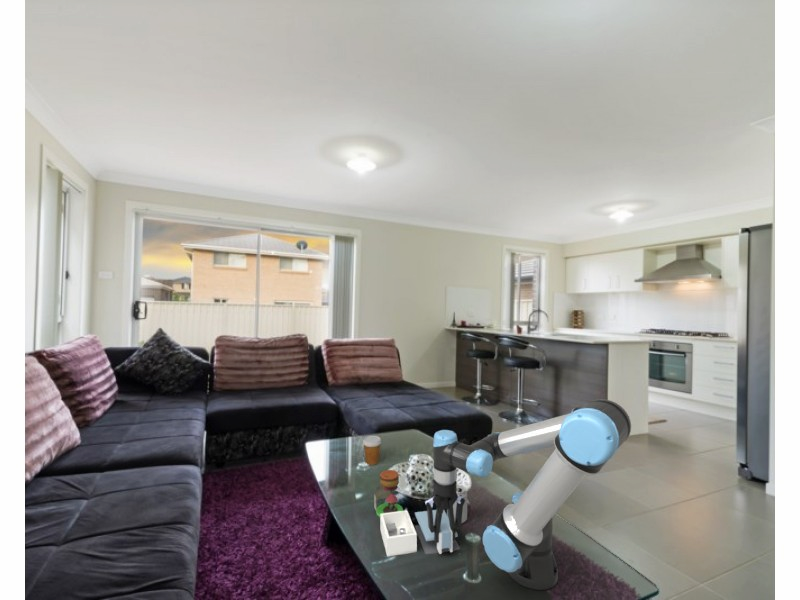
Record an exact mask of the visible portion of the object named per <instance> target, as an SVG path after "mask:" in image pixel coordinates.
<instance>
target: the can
mask: <svg viewBox="0 0 800 600" xmlns="http://www.w3.org/2000/svg"><path fill="white" fill-rule="evenodd" d="M456 493H457V495H458V496H460V495H462V496H463V498H464V499H465V502H464V505H463V510H462V522H461V525H462V524H463V523H465V522H466V521H467V520H468V491H466V488H465V486H463V485H461V484H457V491H456ZM456 506H457V500H456V502H455V503H454V505H453V513H454V520H455V517H456ZM446 514H447V516H448V510H447V509H446ZM448 518H449V516H448Z"/></svg>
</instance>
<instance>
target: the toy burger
mask: <svg viewBox="0 0 800 600" xmlns="http://www.w3.org/2000/svg"><path fill="white" fill-rule="evenodd" d="M399 475H400V474H399V471H397V470H395V469H394V470H393V469H385V470H382V472H380V474H379V484H380V485H379V486H377V487H376V488H375V489H374V491H373V505H374V510H375V513H376V516H378V517H379V518H380V514H382V513H390V512H398V511H404V508H403V506H401V505H400V504H399V503H397V502H398V500H399V499H398V497H397V496H396V495H395V494H394V493H393V491H396V490H397V489H398V488H399V487H398V485H399V484H400V478H399V477H400V476H399ZM381 499H385V501H386V502H384V503H381V504H380V505H378V506H377V502H378V501H379V500H381Z"/></svg>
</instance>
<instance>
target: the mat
mask: <svg viewBox="0 0 800 600" xmlns="http://www.w3.org/2000/svg"><path fill="white" fill-rule="evenodd" d="M413 526H414V529H415V531H416V534H417V537H418V539H419V541H420V545H421V546H422V549H423V551H424V554H425V556H429V555H433V554H439V552H438V550H437V543H436V542H435V540H431V541H426V539H425V537H424V535H423V532H422V530H421V528H420V525H419V524H418V525H417V524H416V525H413ZM459 550H461V547H460V546H459V544H458V542H457V540H456V539H455V540H453V552H454V551H459ZM446 552H450V551H449V549H448V548H443V549H442V553H446Z"/></svg>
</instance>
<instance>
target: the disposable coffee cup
mask: <svg viewBox="0 0 800 600" xmlns="http://www.w3.org/2000/svg"><path fill="white" fill-rule="evenodd" d="M381 444H382V439H381V437H380V436H377V435H368V436H365V437H363V440H362V445H363V449H364V450H363V451H364V460H365V464H366V463H367V465H368V464H369V466H375V465H374V464H376V465H378V464H377V463H379V459H380V451H381V449H380V448H381Z"/></svg>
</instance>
